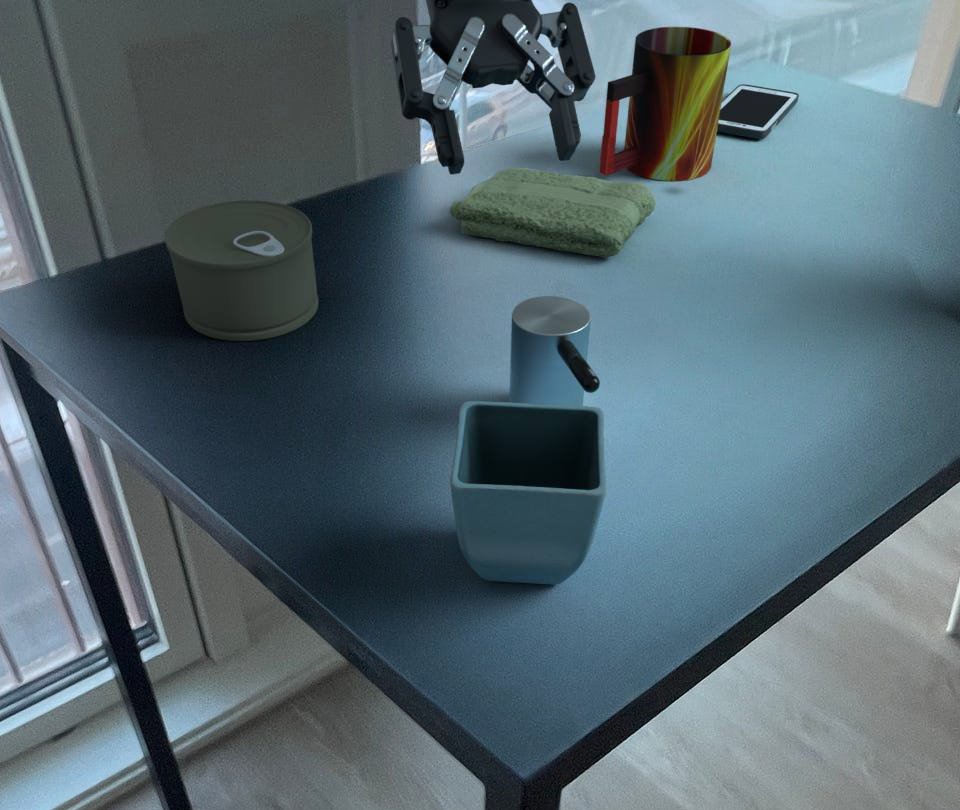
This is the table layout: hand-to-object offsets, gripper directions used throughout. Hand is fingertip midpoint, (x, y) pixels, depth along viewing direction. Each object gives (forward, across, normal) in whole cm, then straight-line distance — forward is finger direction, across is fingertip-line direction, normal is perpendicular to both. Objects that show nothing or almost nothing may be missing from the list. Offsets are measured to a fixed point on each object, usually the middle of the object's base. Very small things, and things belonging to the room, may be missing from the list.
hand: (513, 162), depth 73 cm
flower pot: (+29, -8, -8) cm, 31 cm away
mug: (-10, +28, +31) cm, 43 cm away
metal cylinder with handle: (+20, -1, +1) cm, 20 cm away
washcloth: (-4, +12, +25) cm, 28 cm away
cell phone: (-19, +45, +39) cm, 62 cm away
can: (+2, -20, +19) cm, 27 cm away
